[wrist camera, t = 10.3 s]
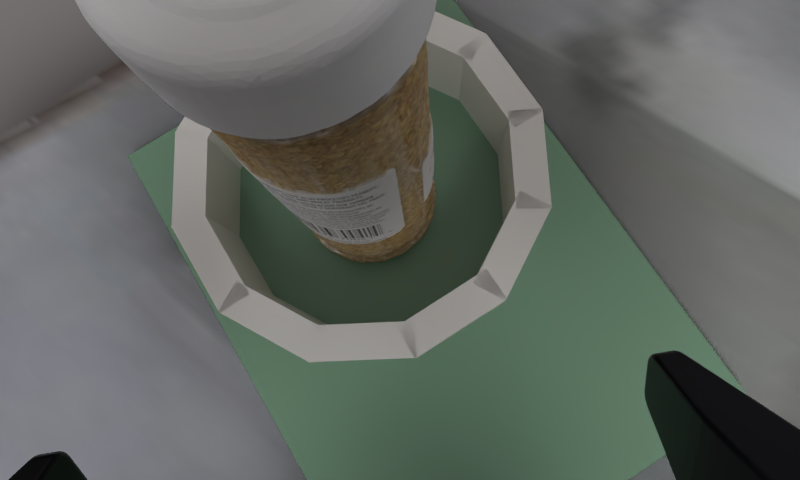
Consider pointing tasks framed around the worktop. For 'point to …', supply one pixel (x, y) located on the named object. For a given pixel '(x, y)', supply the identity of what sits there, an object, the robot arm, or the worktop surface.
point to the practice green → (439, 299)
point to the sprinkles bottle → (301, 102)
